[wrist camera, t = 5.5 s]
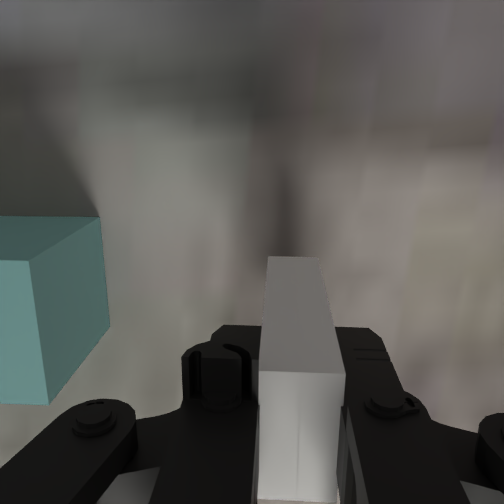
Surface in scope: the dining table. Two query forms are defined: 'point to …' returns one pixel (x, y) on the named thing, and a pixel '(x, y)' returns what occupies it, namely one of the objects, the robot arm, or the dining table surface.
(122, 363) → the dining table surface
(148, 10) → the dining table surface
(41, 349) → the teal rod
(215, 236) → the dining table surface
